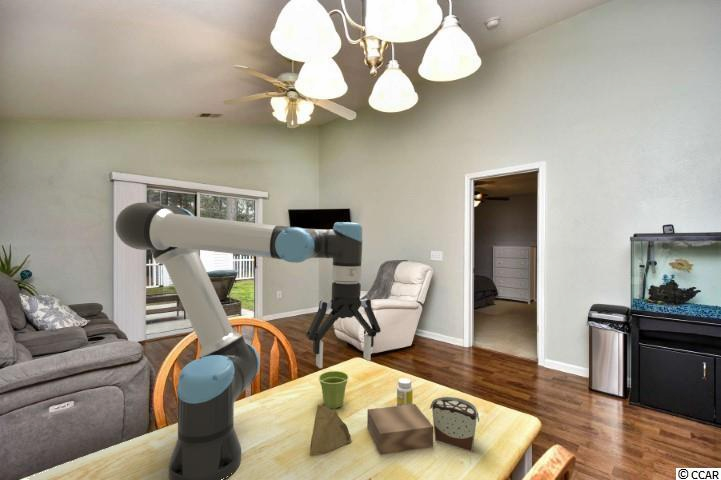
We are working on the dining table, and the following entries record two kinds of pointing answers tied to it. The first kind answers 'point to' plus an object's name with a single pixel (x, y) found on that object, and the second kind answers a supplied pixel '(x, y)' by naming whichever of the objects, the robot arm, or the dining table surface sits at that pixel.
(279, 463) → the dining table surface
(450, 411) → the food container
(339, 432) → the rock
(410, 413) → the walnut block
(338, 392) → the plant pot
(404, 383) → the supplement bottle
